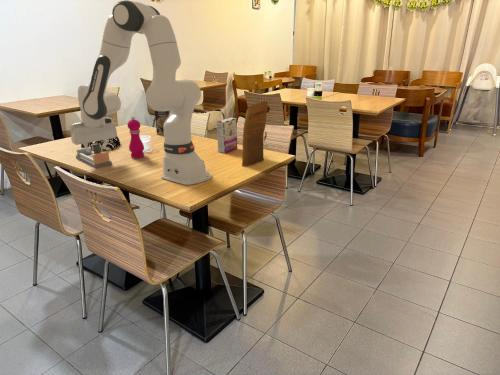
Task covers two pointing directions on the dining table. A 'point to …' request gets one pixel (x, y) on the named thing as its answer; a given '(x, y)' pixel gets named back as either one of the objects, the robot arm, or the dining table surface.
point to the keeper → (96, 148)
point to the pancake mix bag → (254, 134)
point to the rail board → (97, 159)
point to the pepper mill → (135, 139)
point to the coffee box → (161, 120)
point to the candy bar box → (227, 135)
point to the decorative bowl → (106, 145)
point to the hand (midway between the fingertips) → (97, 150)
